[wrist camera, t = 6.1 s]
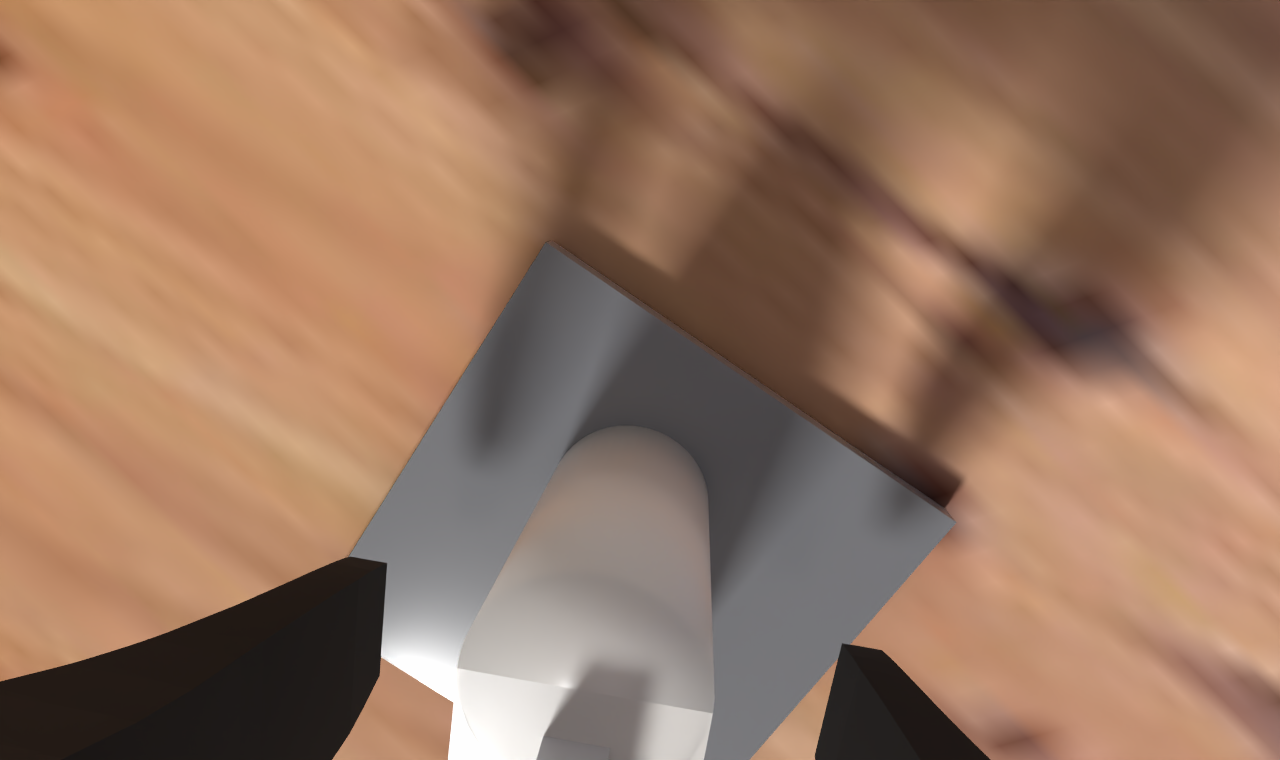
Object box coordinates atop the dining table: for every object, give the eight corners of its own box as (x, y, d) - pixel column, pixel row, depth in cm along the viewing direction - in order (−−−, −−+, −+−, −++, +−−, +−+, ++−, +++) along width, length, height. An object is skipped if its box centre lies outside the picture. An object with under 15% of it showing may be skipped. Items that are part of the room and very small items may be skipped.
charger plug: (720, 439, 14) (742, 661, 7) (672, 710, 15) (651, 1108, 8) (559, 413, 14) (430, 608, 7) (526, 684, 15) (392, 1058, 8)
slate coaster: (945, 509, 14) (955, 522, 14) (678, 819, 16) (677, 842, 16) (552, 240, 14) (545, 242, 13) (327, 599, 16) (313, 613, 15)
